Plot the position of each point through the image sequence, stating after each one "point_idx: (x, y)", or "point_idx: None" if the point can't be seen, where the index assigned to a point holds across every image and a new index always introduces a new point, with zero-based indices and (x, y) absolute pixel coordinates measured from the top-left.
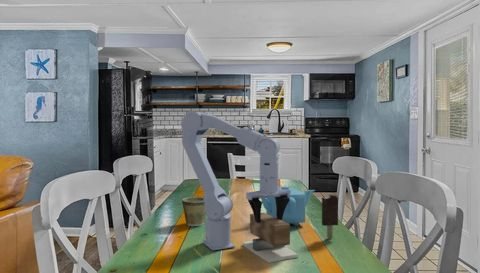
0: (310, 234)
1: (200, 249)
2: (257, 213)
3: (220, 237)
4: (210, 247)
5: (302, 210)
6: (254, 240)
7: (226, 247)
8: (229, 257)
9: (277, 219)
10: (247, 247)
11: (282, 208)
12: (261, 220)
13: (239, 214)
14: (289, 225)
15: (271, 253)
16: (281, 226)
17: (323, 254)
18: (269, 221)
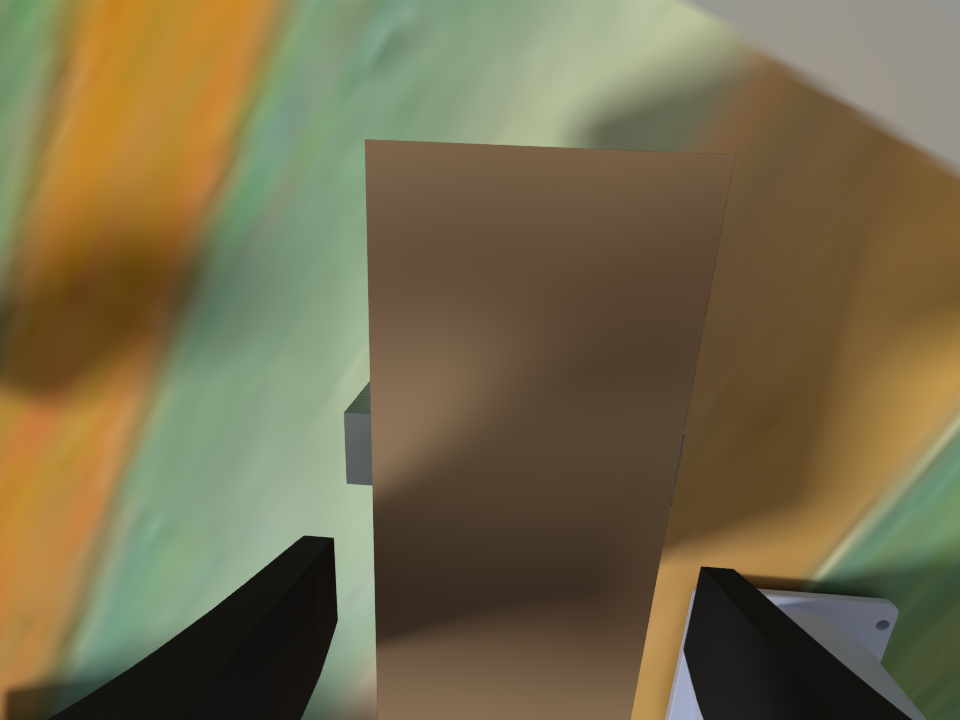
0: (7, 564)
1: (927, 662)
2: (901, 716)
3: (878, 683)
4: (887, 641)
5: None
6: (677, 469)
7: (777, 594)
8: (864, 434)
9: (399, 531)
10: None
11: (185, 695)
12: (641, 626)
13: None
14: (383, 142)
15: None
16: (570, 153)
17: (123, 117)
18: (602, 493)
